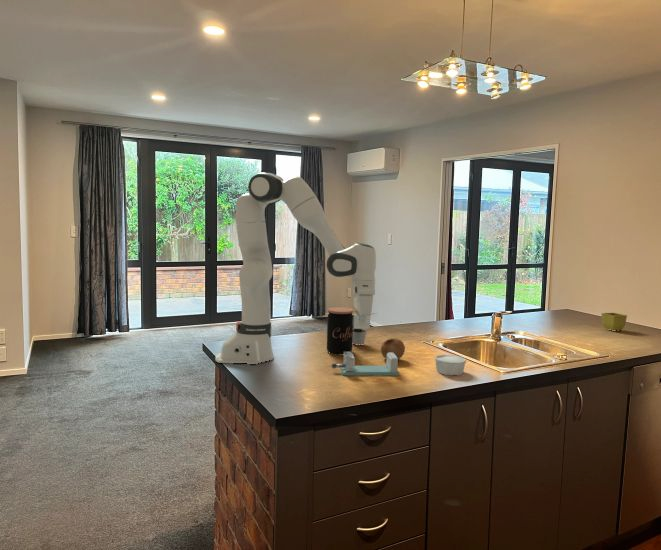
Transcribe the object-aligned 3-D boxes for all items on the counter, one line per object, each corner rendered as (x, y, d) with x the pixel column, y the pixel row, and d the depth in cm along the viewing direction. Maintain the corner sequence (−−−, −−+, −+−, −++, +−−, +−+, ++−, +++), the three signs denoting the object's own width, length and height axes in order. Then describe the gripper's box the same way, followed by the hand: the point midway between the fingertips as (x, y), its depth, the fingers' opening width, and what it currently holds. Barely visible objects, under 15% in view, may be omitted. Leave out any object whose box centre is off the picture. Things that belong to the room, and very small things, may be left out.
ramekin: (442, 366, 188) (443, 352, 187) (470, 372, 181) (471, 358, 180) (428, 372, 179) (429, 358, 179) (457, 379, 172) (458, 364, 172)
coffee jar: (330, 355, 198) (331, 312, 196) (323, 349, 208) (324, 307, 206) (355, 354, 201) (356, 311, 199) (347, 348, 211) (348, 306, 209)
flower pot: (599, 329, 265) (600, 312, 264) (612, 328, 267) (613, 312, 266) (613, 332, 256) (614, 315, 256) (626, 332, 259) (627, 315, 258)
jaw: (332, 371, 172) (332, 357, 172) (330, 365, 180) (331, 351, 179) (354, 371, 173) (354, 357, 172) (351, 365, 181) (352, 351, 180)
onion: (388, 369, 191) (383, 349, 187) (380, 357, 200) (374, 337, 195) (410, 360, 192) (405, 340, 188) (401, 348, 201) (396, 328, 196)
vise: (342, 375, 173) (343, 358, 172) (340, 368, 180) (341, 352, 180) (398, 375, 174) (399, 358, 174) (393, 368, 182) (394, 352, 182)
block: (353, 328, 181) (354, 315, 181) (352, 326, 185) (353, 313, 185) (369, 329, 182) (370, 315, 181) (368, 326, 186) (368, 313, 185)
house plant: (377, 341, 224) (378, 306, 223) (376, 348, 211) (378, 311, 209) (346, 339, 226) (347, 305, 224) (343, 347, 212) (344, 310, 210)
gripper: (350, 283, 192) (349, 317, 193) (358, 290, 172) (356, 329, 173) (366, 283, 193) (365, 318, 194) (375, 290, 172) (373, 329, 174)
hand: (361, 323), depth 183 cm, fingers closed on block, 4 cm apart
